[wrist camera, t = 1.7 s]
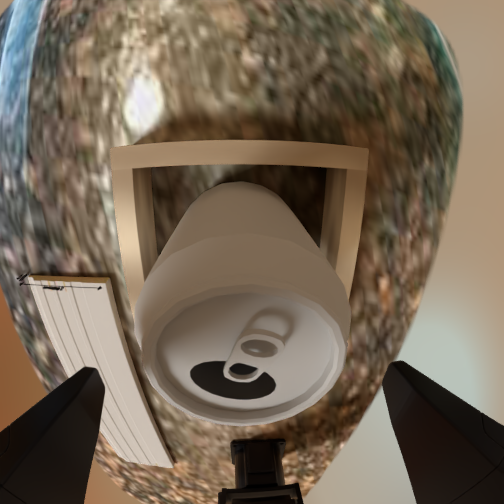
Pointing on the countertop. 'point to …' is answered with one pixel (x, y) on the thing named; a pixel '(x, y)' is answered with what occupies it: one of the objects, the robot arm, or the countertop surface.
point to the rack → (236, 152)
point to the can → (242, 311)
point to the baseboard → (100, 360)
